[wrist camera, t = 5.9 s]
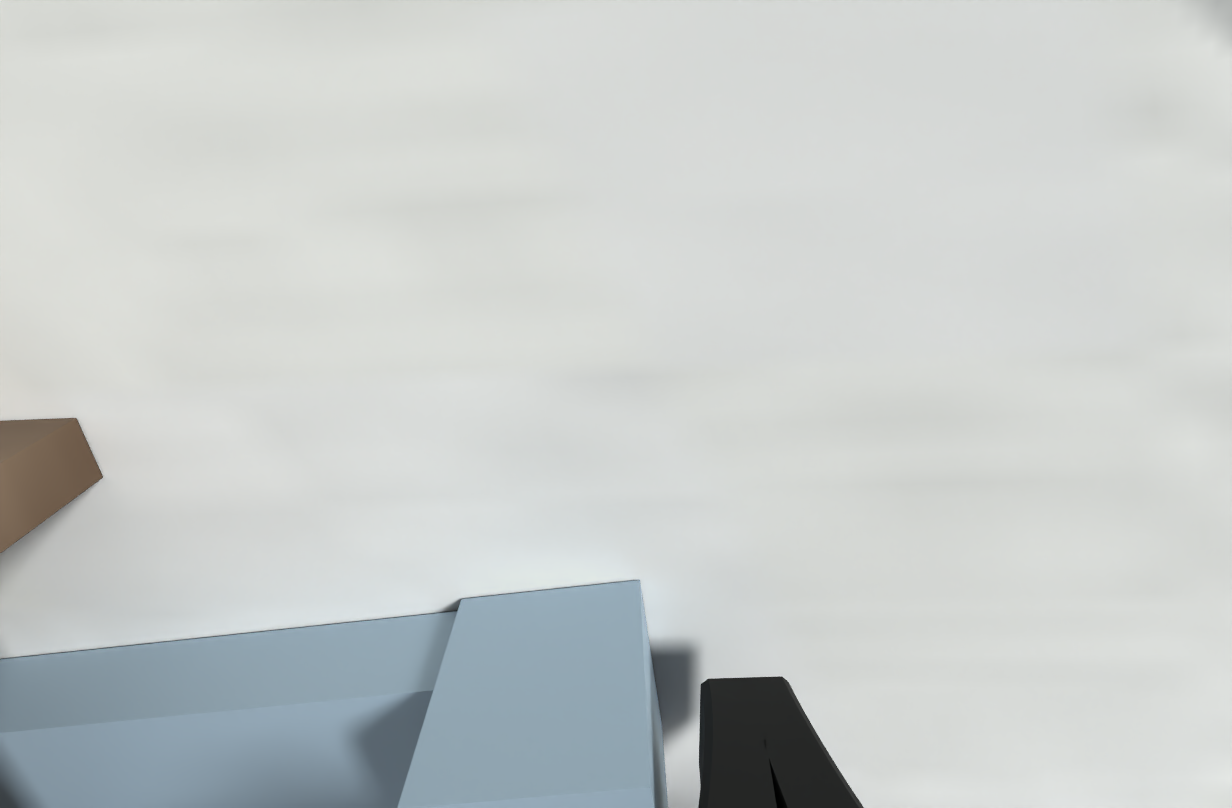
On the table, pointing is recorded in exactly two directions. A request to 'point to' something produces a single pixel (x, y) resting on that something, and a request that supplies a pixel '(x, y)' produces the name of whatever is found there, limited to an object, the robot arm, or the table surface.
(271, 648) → the pale blue mallet
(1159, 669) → the table surface
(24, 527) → the brown wooden arch
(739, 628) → the table surface
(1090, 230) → the table surface
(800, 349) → the table surface
